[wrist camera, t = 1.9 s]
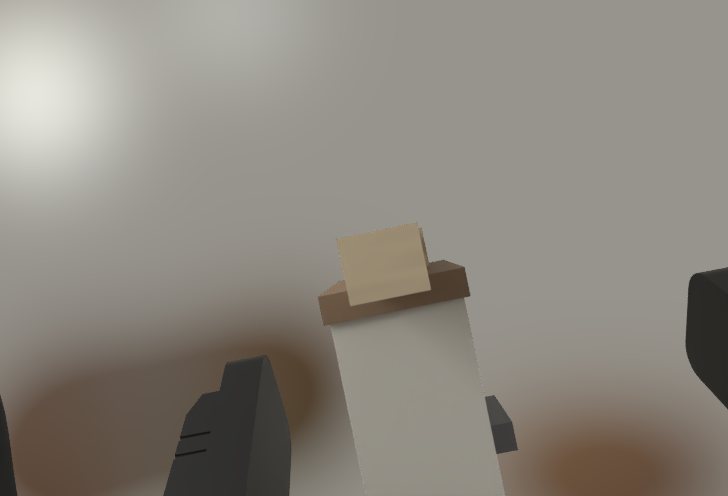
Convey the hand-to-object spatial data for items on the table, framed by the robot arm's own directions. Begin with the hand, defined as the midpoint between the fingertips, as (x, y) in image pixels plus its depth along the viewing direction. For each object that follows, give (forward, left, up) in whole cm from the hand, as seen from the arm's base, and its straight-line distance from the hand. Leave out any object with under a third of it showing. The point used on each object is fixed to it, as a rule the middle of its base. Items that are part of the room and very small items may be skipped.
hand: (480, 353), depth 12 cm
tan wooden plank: (-18, +13, 0) cm, 22 cm away
